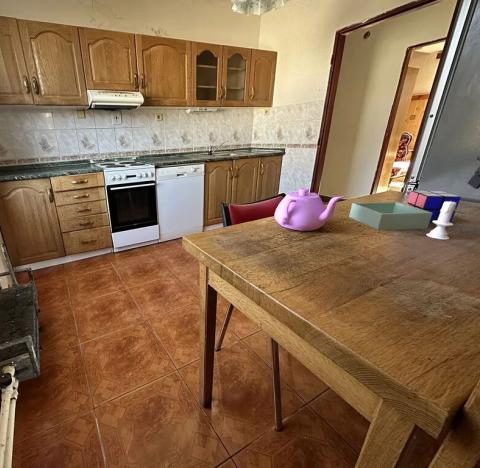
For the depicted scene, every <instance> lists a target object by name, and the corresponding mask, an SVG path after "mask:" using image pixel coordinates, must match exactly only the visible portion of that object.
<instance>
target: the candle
mask: <svg viewBox="0 0 480 468" xmlns="http://www.w3.org/2000/svg"><path fill="white" fill-rule="evenodd" d="M455 206H456V203H455V202H451V201H450V202H448V201H446V202H444V204H443V206H442V209H441V210H440V215H439V218H438V220H435V221H432V222H431V223H433V224H434V225H436V227H435V228H433V229H431V230H430V231H429V232H428V233H426V236H427V237H428V238H432V239H436V240H443V241H444V240H450V237H449V236H448V232H447V231H446V227H451V226H453V225H454V223H452V222H451V223H450V222H449V221H450V218H451V216H452V213H453V211H454V210H455ZM455 211H456V210H455Z"/></svg>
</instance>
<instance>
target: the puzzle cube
mask: <svg viewBox="0 0 480 468" xmlns="http://www.w3.org/2000/svg"><path fill="white" fill-rule="evenodd" d="M461 199H462V197H461V196H460V195H456V194H453V193H449V192H445V191H443V190H411V191H410V193H409V196H408V200H407V203H406V205H408V206H411V207H414V208H418V209H421V210H425V211H428V212H431V213H432V216H431V219H430V221H429V223H433V222H432V221H435V220H438V218H439V215H440V210H441V209H442V206H443V204H444V202H446V201H448V202H450V201H451V202H455V203H456V206H455V210H454V211H453V213H452V216H451V218H450V221H449V222H450V223H452V221H453V219H454V217H455V214H456V210H457V208H458V206H459V203H460V201H461Z"/></svg>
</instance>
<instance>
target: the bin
mask: <svg viewBox="0 0 480 468" xmlns="http://www.w3.org/2000/svg"><path fill="white" fill-rule="evenodd" d="M431 216H432V213H431V212H428V211H425V210H421V209H418V208H414V207H411V206H408V205H407V204H405V203H401V202H397V201H386V202H385V201H383V202H381V201H380V202H379V201H378V202H352V203H351V207H350V212H349V216H348V217H349V218H350V219H352V220H354V221H357V222H359V223H362V224H363V225H366V226H367V227H370V228H372V229H374V230H377V231H385V230H386V231H387V230H390V231H391V230H393V231H394V230H425V229H426V230H427V229H428V227H429V224H430V222H429V221H430V219H431Z"/></svg>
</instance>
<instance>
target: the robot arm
mask: <svg viewBox="0 0 480 468" xmlns="http://www.w3.org/2000/svg"><path fill="white" fill-rule="evenodd" d="M476 160H477V161H479V162H480V154H479V155H478V156H477V157H476ZM467 185H469V186H470V187H472V188H473V189H475V190H478V189H480V166H478V168H477V169H476V170H475V171H474V174H473V175H472V177H470V179H469V180H468V182H467Z"/></svg>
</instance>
